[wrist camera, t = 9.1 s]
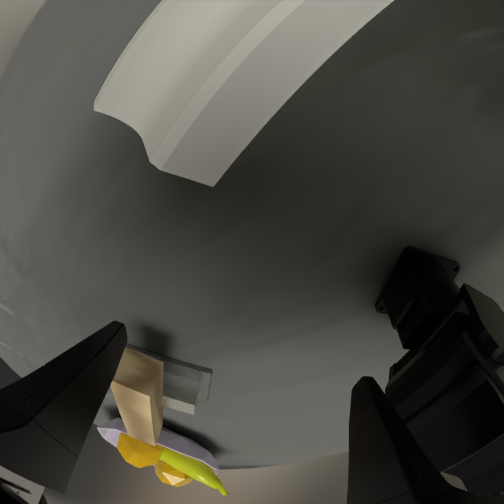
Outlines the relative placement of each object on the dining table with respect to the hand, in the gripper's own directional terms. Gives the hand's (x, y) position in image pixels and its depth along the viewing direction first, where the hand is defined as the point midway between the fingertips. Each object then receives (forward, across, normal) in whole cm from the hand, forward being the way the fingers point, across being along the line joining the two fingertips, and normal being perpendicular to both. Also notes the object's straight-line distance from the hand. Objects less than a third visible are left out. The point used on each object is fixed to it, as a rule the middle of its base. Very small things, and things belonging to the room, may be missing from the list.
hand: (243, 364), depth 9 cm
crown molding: (+13, +2, -18) cm, 22 cm away
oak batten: (+8, +9, +23) cm, 26 cm away
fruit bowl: (+12, +9, +52) cm, 54 cm away
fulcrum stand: (+12, +9, +23) cm, 27 cm away
